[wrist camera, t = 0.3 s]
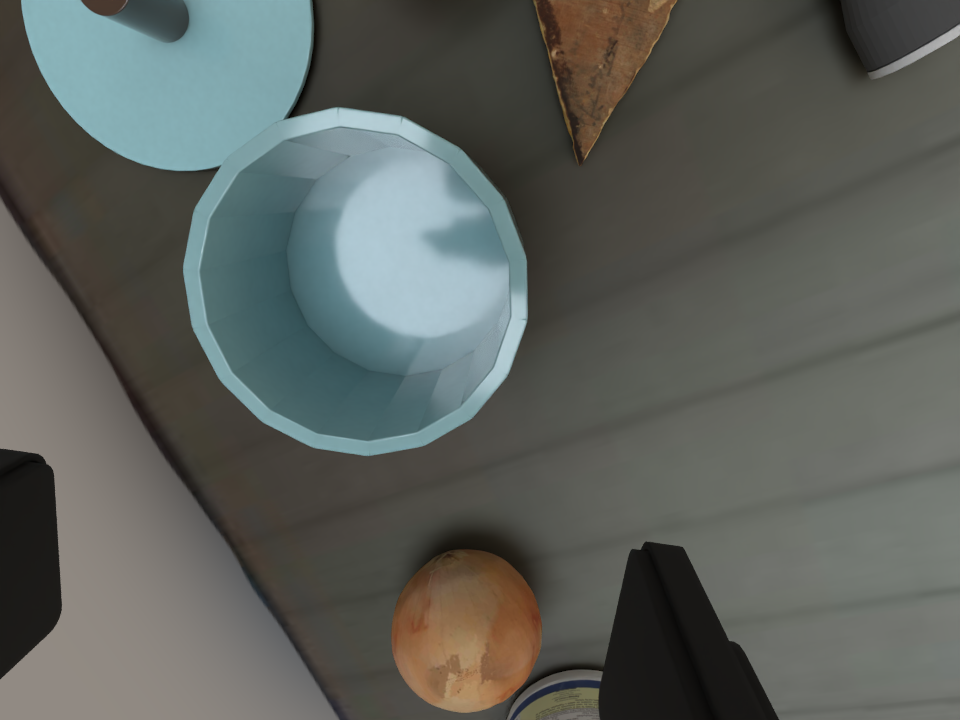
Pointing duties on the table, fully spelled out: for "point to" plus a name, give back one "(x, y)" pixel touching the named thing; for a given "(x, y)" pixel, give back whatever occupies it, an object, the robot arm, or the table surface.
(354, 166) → the pot
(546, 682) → the supplement tub
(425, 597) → the onion
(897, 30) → the flashlight
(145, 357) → the table surface
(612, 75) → the shard
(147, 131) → the lid
